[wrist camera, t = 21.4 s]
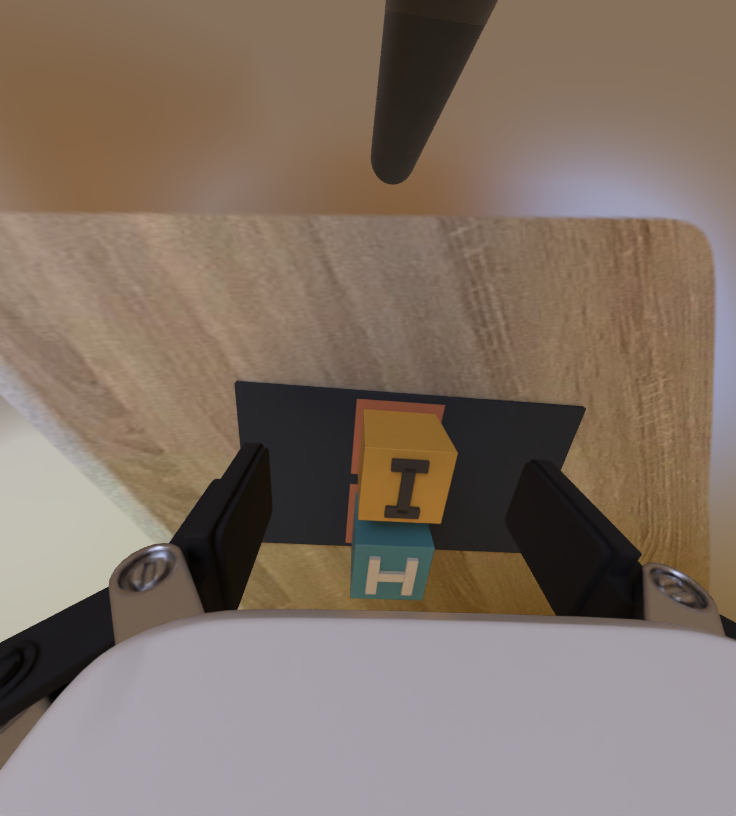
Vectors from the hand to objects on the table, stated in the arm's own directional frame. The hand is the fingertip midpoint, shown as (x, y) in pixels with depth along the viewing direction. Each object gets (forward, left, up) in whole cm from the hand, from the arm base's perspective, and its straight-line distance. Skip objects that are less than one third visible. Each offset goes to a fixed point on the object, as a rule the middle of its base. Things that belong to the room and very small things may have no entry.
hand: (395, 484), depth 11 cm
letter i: (+4, +2, -10) cm, 10 cm away
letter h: (+11, +2, -10) cm, 15 cm away
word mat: (+7, +3, -10) cm, 13 cm away
